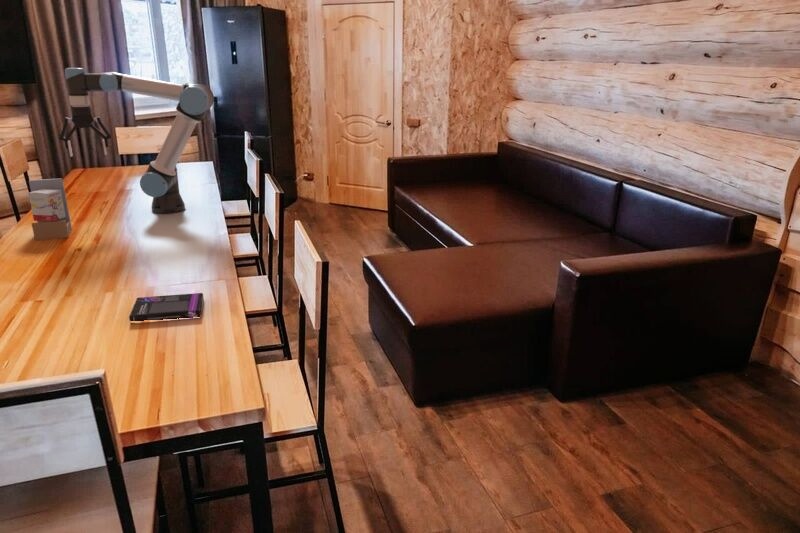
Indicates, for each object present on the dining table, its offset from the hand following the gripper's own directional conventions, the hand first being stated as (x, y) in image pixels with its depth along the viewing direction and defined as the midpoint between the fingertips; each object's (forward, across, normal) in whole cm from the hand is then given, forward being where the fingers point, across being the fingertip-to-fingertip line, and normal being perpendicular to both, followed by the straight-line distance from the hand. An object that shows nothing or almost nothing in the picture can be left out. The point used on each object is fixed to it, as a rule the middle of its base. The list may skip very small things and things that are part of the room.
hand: (88, 155), depth 256 cm
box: (+29, -25, +117) cm, 123 cm away
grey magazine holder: (+29, +16, +21) cm, 39 cm away
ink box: (+22, +16, +21) cm, 35 cm away
